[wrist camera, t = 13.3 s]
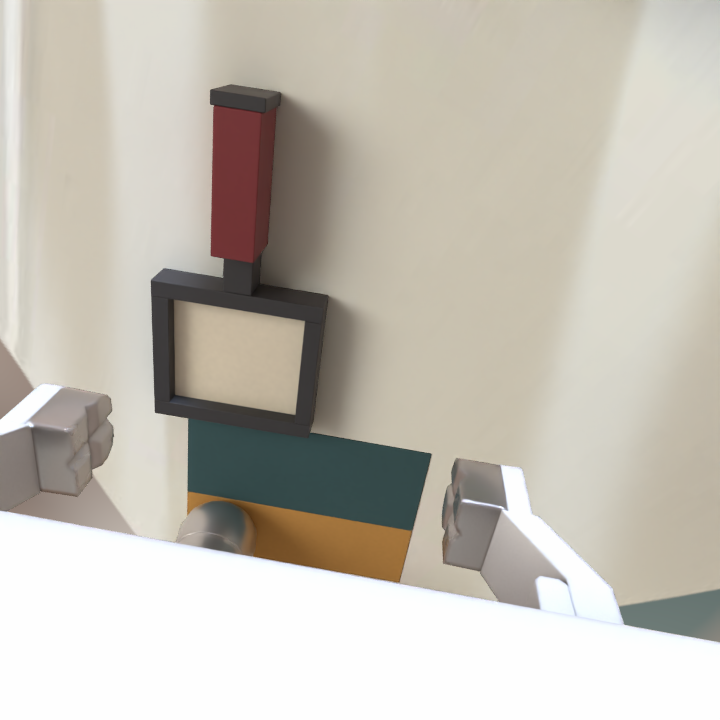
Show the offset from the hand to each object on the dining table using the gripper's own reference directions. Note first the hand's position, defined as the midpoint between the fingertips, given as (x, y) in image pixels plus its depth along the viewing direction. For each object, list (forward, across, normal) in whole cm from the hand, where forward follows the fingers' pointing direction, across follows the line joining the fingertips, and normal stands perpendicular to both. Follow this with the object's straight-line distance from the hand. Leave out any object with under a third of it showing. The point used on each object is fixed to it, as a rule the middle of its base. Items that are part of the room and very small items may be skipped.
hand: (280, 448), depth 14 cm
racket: (+29, +8, +8) cm, 31 cm away
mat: (+29, +2, +28) cm, 40 cm away
